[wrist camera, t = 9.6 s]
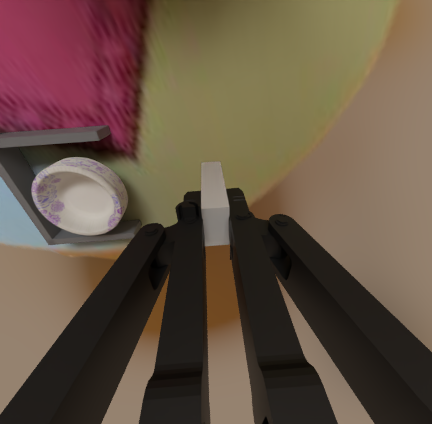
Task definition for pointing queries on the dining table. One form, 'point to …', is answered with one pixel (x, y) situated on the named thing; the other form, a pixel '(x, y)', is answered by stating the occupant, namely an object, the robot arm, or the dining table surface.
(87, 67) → the dining table surface
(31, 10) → the dining table surface
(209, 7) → the dining table surface
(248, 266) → the robot arm
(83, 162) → the paper bowls
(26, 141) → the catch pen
